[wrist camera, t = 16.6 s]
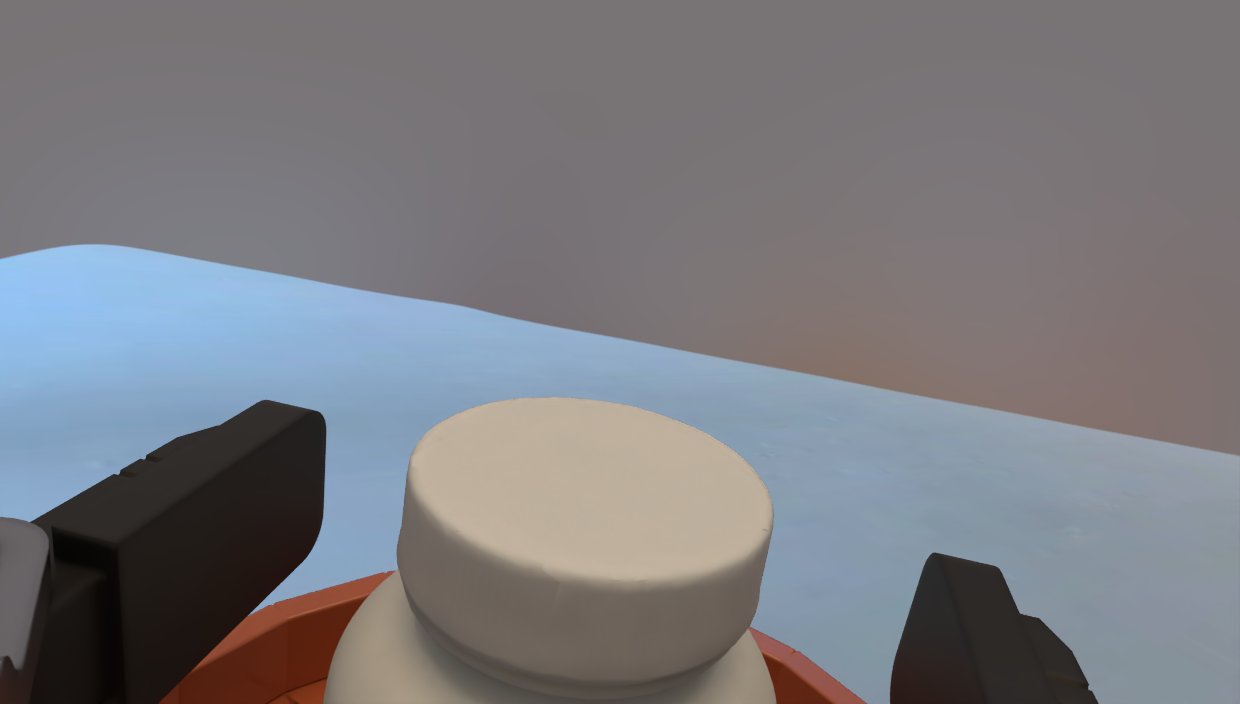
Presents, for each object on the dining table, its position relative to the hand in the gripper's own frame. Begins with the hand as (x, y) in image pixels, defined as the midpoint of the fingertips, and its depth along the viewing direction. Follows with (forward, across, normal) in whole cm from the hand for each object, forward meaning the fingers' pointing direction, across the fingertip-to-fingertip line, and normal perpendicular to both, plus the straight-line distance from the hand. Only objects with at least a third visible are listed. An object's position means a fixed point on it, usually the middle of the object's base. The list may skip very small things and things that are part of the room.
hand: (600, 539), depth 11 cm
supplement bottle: (-1, 0, +8) cm, 8 cm away
